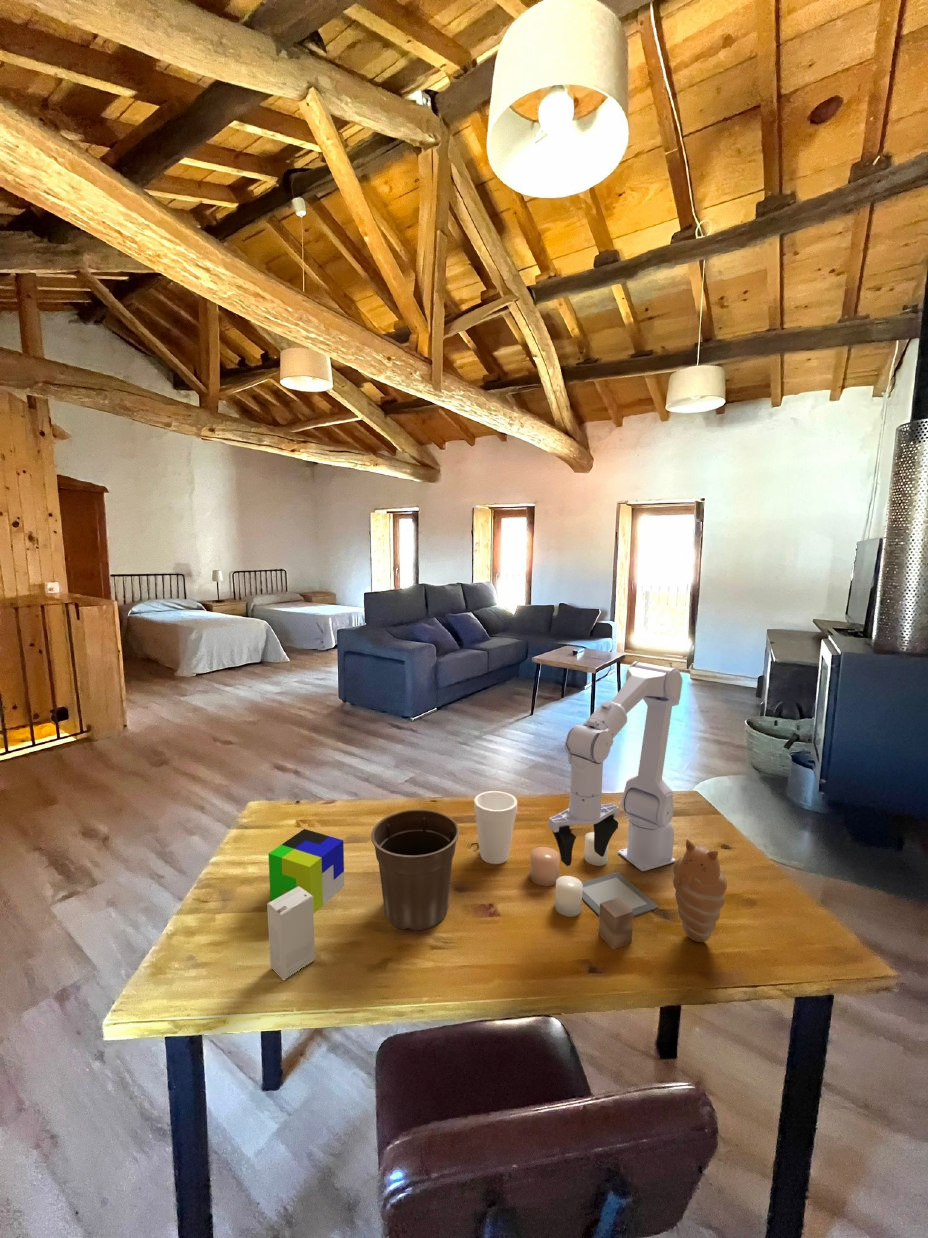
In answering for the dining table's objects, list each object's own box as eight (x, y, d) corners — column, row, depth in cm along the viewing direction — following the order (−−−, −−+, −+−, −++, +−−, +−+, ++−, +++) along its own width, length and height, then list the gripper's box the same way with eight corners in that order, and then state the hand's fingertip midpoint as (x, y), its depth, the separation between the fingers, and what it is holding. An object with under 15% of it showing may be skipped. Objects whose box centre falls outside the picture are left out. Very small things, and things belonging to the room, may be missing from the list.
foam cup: (513, 871, 115) (514, 813, 113) (470, 865, 117) (471, 808, 115) (517, 846, 124) (518, 793, 122) (478, 841, 126) (478, 789, 124)
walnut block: (616, 927, 98) (618, 897, 97) (631, 942, 95) (633, 911, 94) (598, 934, 97) (600, 903, 96) (613, 949, 93) (614, 917, 92)
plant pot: (412, 955, 91) (411, 867, 89) (355, 911, 102) (353, 831, 100) (475, 908, 103) (477, 829, 101) (418, 873, 114) (418, 801, 112)
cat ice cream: (662, 938, 96) (668, 843, 93) (680, 916, 101) (686, 827, 99) (713, 965, 90) (722, 865, 87) (730, 941, 95) (738, 846, 93)
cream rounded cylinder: (598, 851, 123) (599, 830, 122) (612, 863, 118) (613, 841, 118) (579, 855, 121) (580, 834, 120) (593, 867, 116) (594, 846, 116)
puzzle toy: (344, 886, 109) (343, 840, 108) (311, 916, 100) (309, 867, 99) (305, 873, 114) (304, 828, 112) (270, 901, 105) (268, 853, 103)
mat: (617, 873, 115) (617, 871, 114) (658, 908, 104) (658, 906, 104) (570, 887, 110) (570, 885, 110) (608, 925, 99) (608, 923, 99)
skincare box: (301, 948, 93) (299, 883, 91) (316, 961, 90) (314, 894, 88) (268, 969, 88) (265, 901, 86) (283, 984, 85) (280, 914, 83)
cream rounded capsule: (571, 896, 107) (572, 873, 106) (586, 912, 102) (588, 888, 102) (549, 903, 105) (550, 879, 104) (564, 919, 100) (566, 895, 100)
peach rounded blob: (548, 866, 117) (549, 844, 116) (564, 881, 112) (565, 859, 111) (524, 872, 114) (525, 850, 114) (539, 889, 109) (540, 866, 108)
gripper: (603, 775, 106) (600, 839, 108) (540, 788, 101) (538, 855, 102) (628, 790, 100) (624, 858, 102) (562, 804, 94) (559, 876, 96)
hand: (582, 858), depth 102 cm, fingers open, 7 cm apart
